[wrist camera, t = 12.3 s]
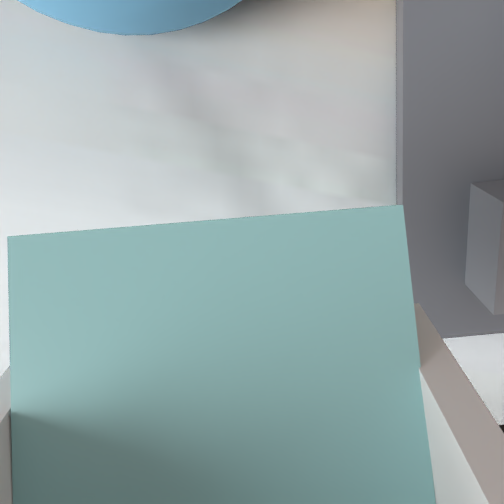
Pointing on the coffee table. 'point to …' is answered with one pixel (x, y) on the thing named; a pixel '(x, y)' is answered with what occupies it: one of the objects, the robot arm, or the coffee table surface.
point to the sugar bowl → (131, 14)
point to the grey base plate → (452, 159)
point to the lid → (218, 363)
